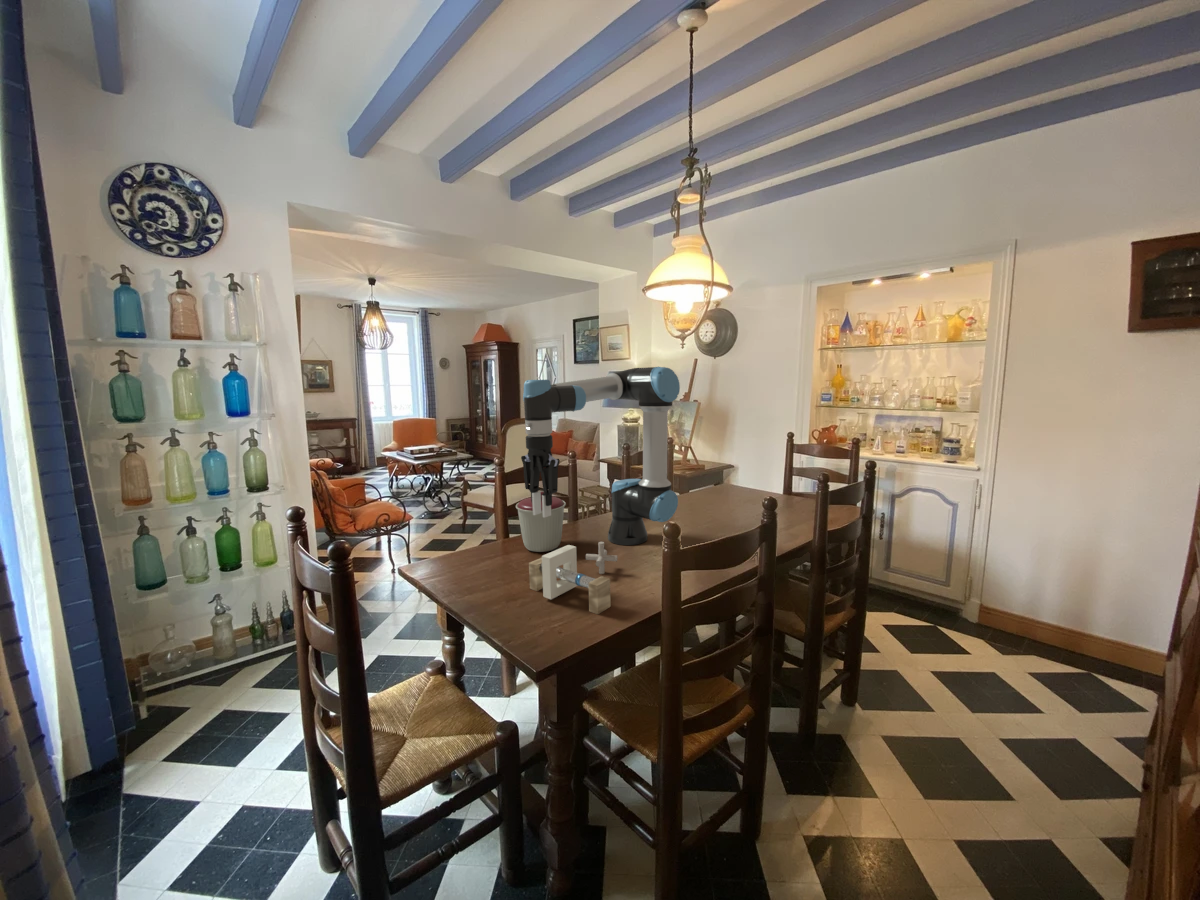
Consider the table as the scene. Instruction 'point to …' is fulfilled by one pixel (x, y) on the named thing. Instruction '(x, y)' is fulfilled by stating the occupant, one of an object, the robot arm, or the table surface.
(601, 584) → the rod support stand
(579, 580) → the steel rod
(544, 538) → the canister
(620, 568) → the table surface
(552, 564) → the collar
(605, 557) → the pipe connector
